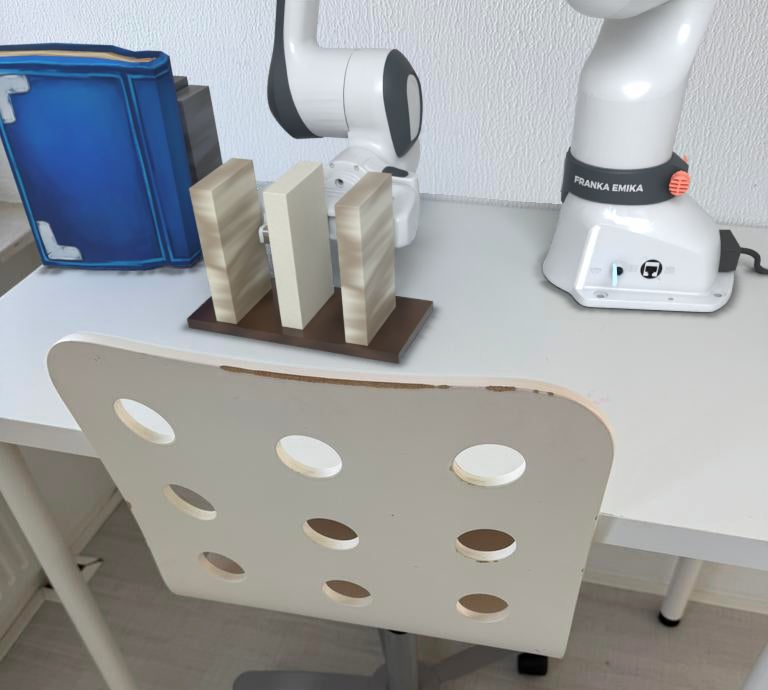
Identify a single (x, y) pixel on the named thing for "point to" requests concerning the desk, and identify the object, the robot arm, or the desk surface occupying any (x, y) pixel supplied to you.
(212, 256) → the ivory stand
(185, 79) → the grey stand
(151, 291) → the desk surface
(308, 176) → the ivory book
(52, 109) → the book
